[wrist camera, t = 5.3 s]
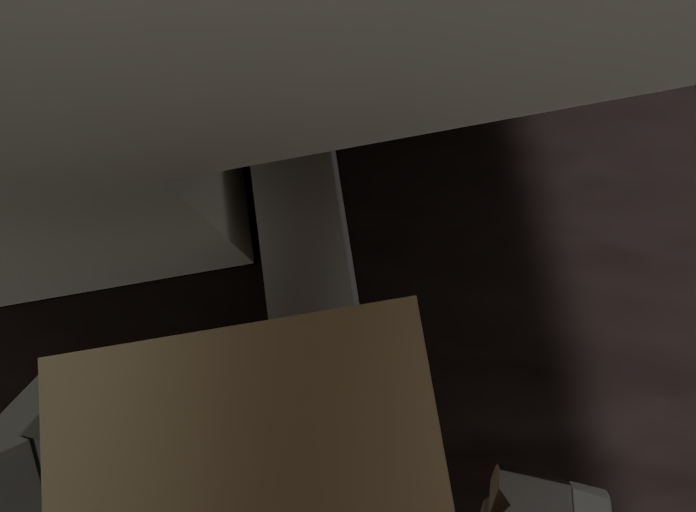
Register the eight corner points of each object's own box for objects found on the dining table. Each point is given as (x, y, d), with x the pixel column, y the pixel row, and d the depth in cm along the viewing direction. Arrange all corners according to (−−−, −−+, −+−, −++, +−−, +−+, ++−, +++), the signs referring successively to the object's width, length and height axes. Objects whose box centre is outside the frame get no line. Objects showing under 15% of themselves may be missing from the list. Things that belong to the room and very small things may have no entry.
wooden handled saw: (271, 562, 14) (50, 805, 6) (190, -170, 19) (9, -637, 11) (445, 538, 14) (498, 752, 5) (317, -198, 19) (238, -698, 10)
